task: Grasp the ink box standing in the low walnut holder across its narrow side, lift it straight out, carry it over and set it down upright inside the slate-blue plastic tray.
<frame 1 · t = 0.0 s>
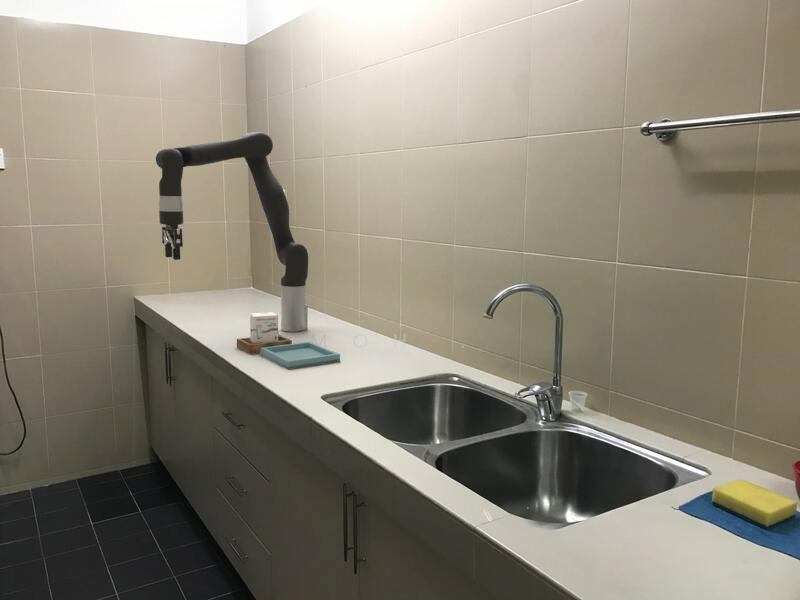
hand: (172, 258, 222), 29 cm above the worktop, fingers open, 8 cm apart
ink box: (264, 348, 223), resting in holder
holder: (264, 348, 223), on the worktop
tray: (299, 358, 211), on the worktop
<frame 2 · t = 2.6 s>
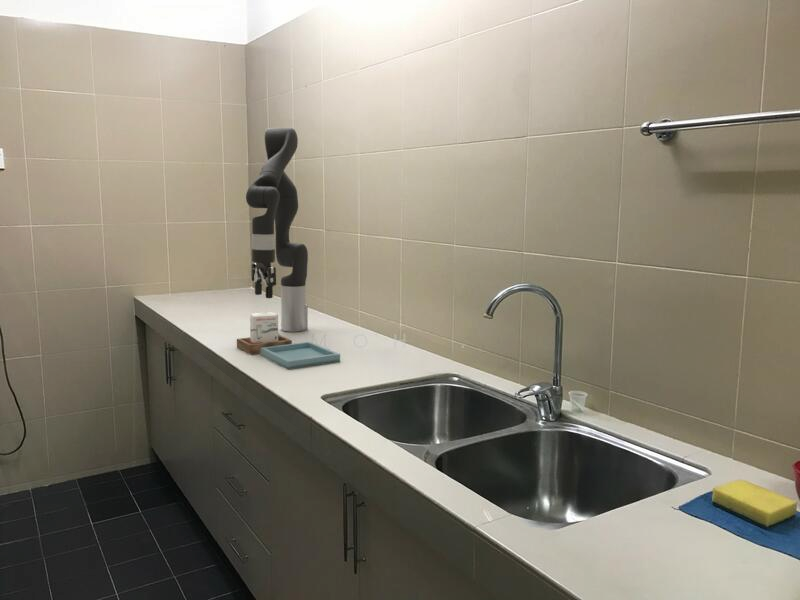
hand: (263, 296, 220), 18 cm above the worktop, fingers open, 8 cm apart
nothing on the worktop moved.
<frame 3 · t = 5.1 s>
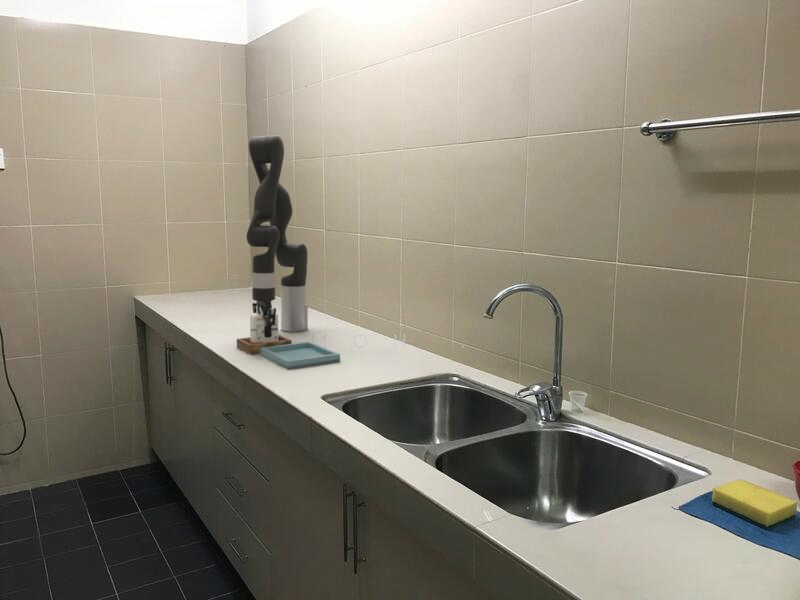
hand: (264, 335, 222), 4 cm above the worktop, fingers closed on ink box, 5 cm apart
ink box: (264, 348, 223), resting in holder, touching gripper
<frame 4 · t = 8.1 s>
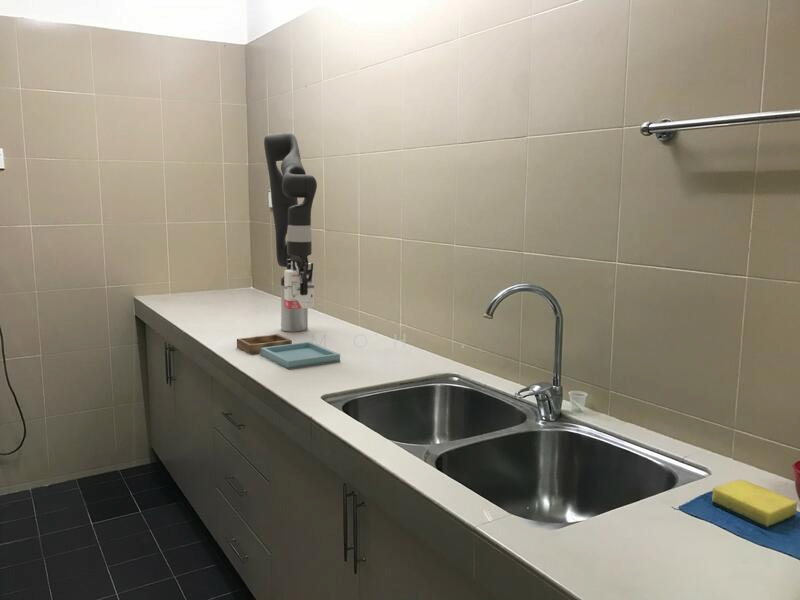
hand: (299, 293, 208), 21 cm above the worktop, fingers closed on ink box, 5 cm apart
ink box: (299, 308, 208), point 16 cm above the worktop, touching gripper
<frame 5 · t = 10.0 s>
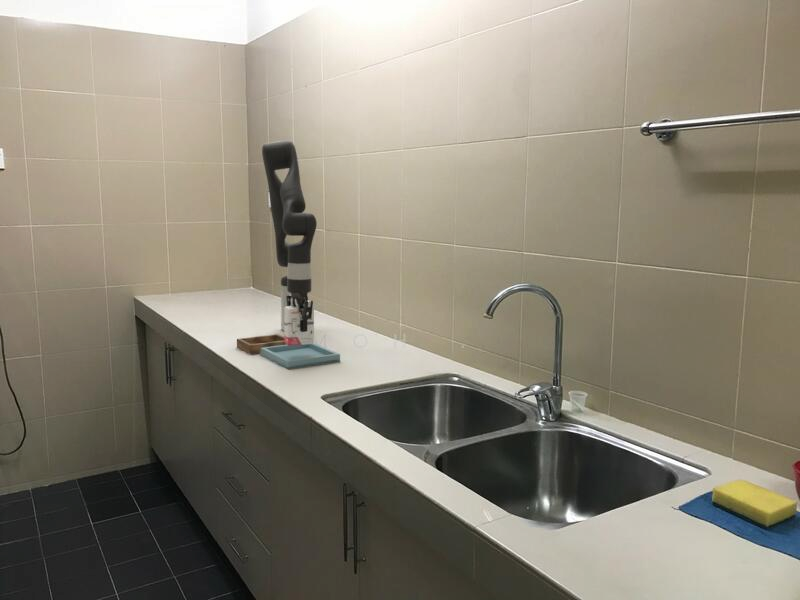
hand: (299, 329, 209), 9 cm above the worktop, fingers closed on ink box, 5 cm apart
ink box: (299, 344, 210), point 5 cm above the worktop, touching gripper
when the fingers open (6 cm above the worktop, at t = 11.6 s): ink box drops 1 cm, resting on tray.
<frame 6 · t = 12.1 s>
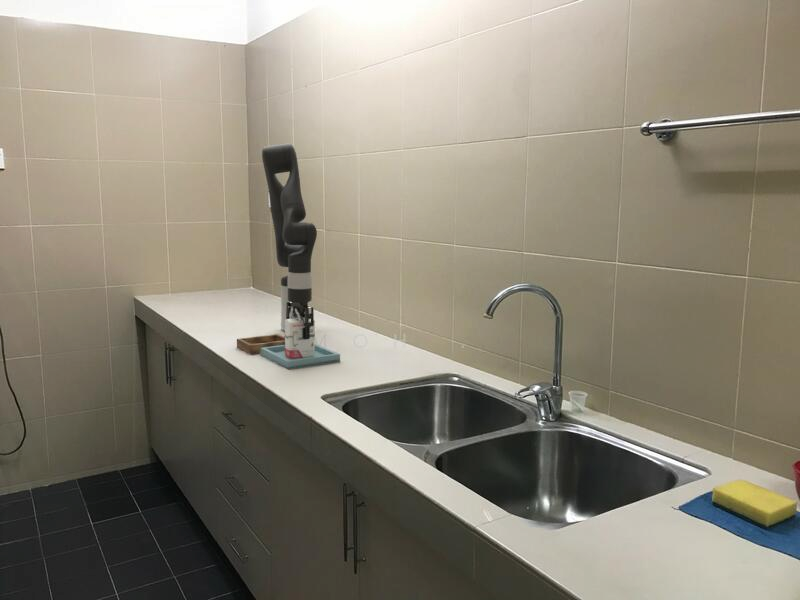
hand: (299, 336, 210), 7 cm above the worktop, fingers open, 8 cm apart
ink box: (299, 356, 211), point 1 cm above the worktop, touching tray
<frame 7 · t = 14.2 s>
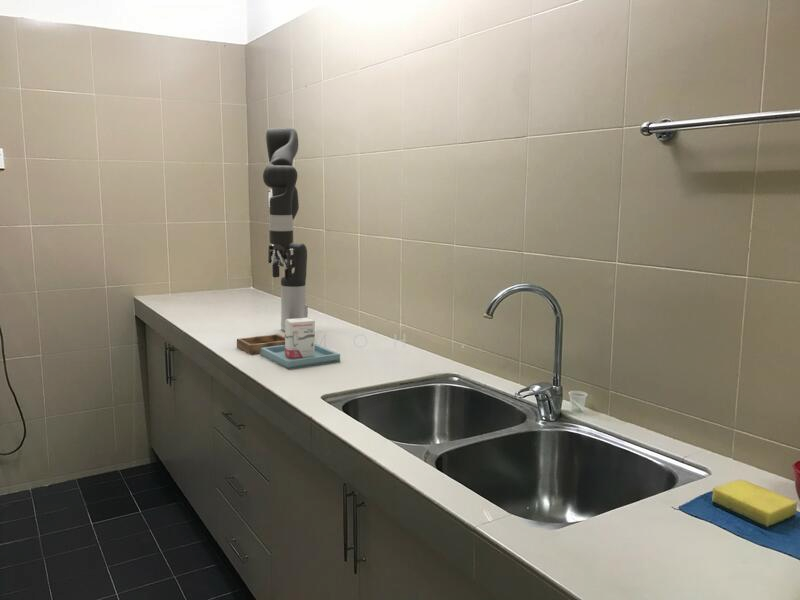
hand: (282, 278, 214), 24 cm above the worktop, fingers open, 8 cm apart
nothing on the worktop moved.
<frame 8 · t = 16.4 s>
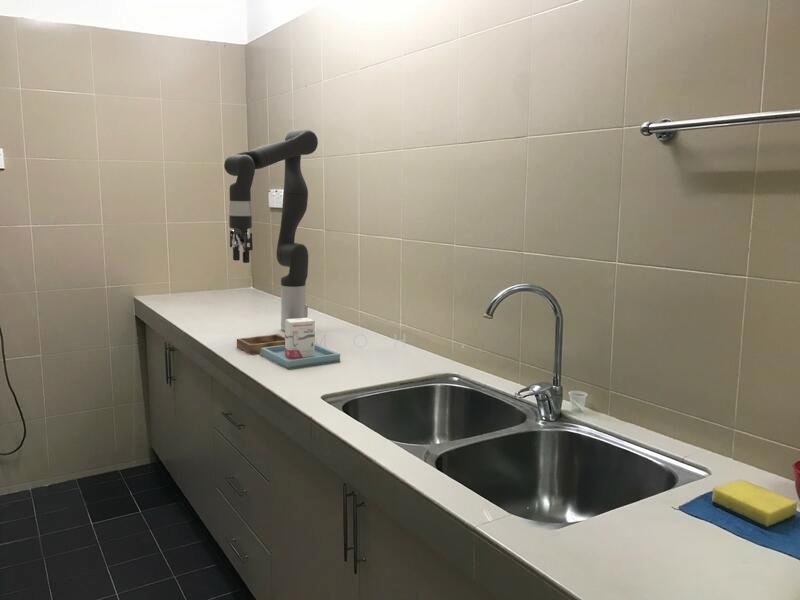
hand: (241, 261, 228), 28 cm above the worktop, fingers open, 8 cm apart
nothing on the worktop moved.
at the end: ink box inside the target area on the tray (0.1 cm from its centre), point 0.6 cm above the tray's base; ink box tilted 0°; the gripper is holding nothing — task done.
